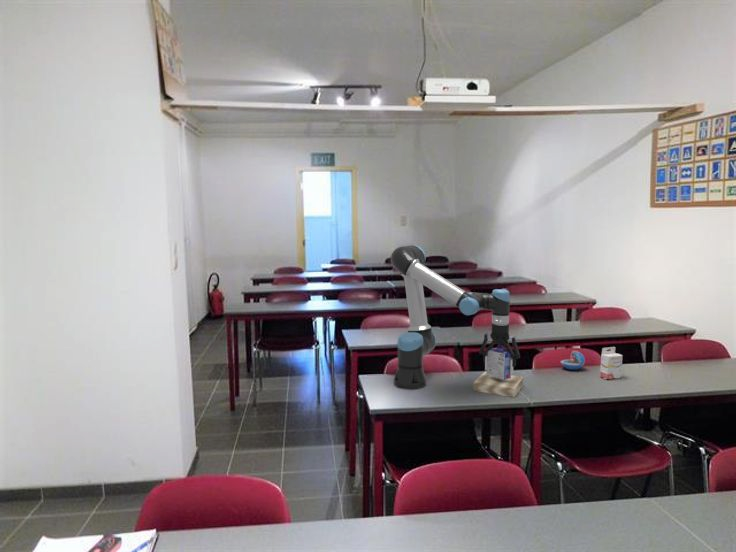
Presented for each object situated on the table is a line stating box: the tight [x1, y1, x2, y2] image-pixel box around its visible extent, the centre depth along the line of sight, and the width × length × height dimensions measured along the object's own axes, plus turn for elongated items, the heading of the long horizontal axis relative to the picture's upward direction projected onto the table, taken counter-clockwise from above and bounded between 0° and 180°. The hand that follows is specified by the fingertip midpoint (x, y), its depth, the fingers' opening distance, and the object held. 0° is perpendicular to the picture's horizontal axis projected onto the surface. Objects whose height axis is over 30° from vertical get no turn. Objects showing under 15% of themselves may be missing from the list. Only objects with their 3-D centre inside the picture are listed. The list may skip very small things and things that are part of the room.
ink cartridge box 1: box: [486, 344, 512, 380], centre depth 222 cm, size 10×6×14 cm, turn 38°
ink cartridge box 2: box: [599, 346, 623, 380], centre depth 236 cm, size 9×5×15 cm, turn 108°
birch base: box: [473, 370, 524, 398], centre depth 223 cm, size 18×18×4 cm
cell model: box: [560, 350, 586, 371], centre depth 250 cm, size 10×12×10 cm
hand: (499, 371), depth 223 cm, fingers closed on ink cartridge box 1, 11 cm apart
